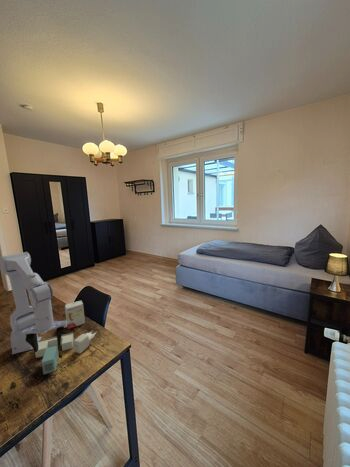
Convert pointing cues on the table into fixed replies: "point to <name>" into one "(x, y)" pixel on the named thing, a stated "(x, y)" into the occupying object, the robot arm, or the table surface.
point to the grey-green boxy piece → (50, 360)
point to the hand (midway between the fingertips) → (48, 347)
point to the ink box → (74, 314)
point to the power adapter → (83, 342)
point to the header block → (55, 343)
